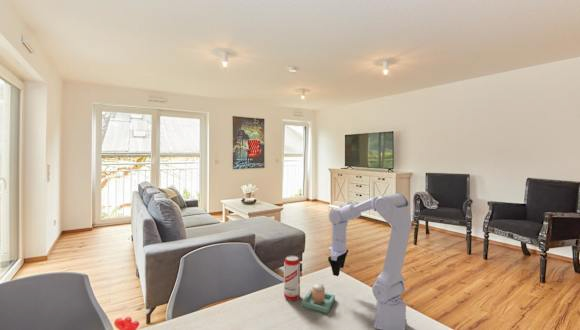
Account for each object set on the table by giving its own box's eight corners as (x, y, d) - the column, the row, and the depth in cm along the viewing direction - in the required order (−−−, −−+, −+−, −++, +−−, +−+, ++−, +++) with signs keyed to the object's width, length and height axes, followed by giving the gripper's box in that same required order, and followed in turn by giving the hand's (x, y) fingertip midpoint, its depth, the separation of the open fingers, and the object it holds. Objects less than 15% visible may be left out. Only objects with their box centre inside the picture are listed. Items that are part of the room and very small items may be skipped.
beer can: (298, 302, 106) (298, 261, 105) (282, 300, 107) (282, 260, 106) (301, 293, 112) (301, 255, 111) (285, 292, 113) (285, 254, 112)
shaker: (326, 300, 106) (326, 284, 106) (322, 306, 102) (322, 290, 102) (314, 297, 108) (314, 282, 108) (310, 303, 104) (310, 287, 104)
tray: (334, 300, 108) (334, 295, 108) (327, 314, 99) (327, 309, 98) (310, 294, 112) (310, 289, 112) (301, 307, 103) (301, 302, 103)
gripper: (333, 231, 119) (333, 262, 120) (323, 242, 106) (323, 277, 107) (350, 233, 116) (349, 265, 117) (342, 245, 103) (341, 280, 104)
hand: (338, 271), depth 111 cm, fingers open, 7 cm apart
